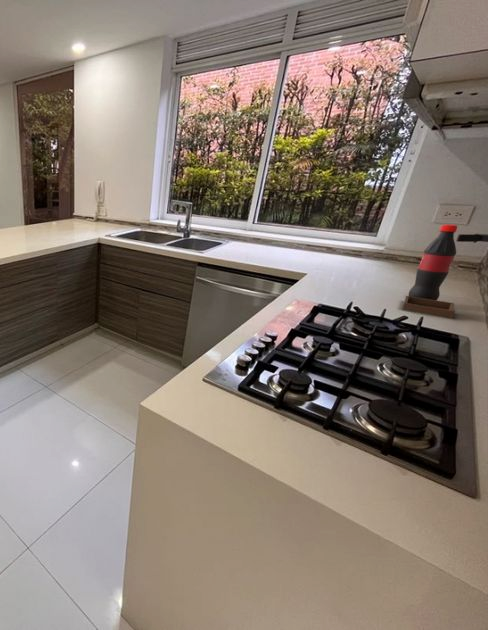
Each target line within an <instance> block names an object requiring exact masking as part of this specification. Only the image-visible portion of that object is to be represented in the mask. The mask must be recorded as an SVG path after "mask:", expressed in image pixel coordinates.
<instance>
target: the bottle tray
mask: <svg viewBox="0 0 488 630" xmlns="http://www.w3.org/2000/svg"><path fill="white" fill-rule="evenodd" d="M401 307H402V308H401V311H407V312H411V313H412V312H413V313H418V314H423V315H430V316H434V317H441V318H446V319H453V318H454V315H455V312H456V309H455V302H449V301H445V300H444V301H443V300H438V299H437V300H430V299H424V298H417V297H411V296H408V295H406V296H405V299H404V301H403V304H402V306H401Z"/></svg>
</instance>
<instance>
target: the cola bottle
mask: <svg viewBox="0 0 488 630" xmlns="http://www.w3.org/2000/svg"><path fill="white" fill-rule="evenodd" d="M457 230H458V225H457V224H456V225H455V224H443V225H441V227H440V229H439V234H438V236H437V237H436V238H434V240H432V241H431V242H430V243H429V244H428V246H426V248H425V249H424V250H423V254H422V257H421V260H420V262H419V265H418V268H417V269H416V275H415V282H414V284H413V286H412V287H411V288H410V289H409V290H408V295H407V296H411V297H417V298H424V299H430V300H437V301H438V299H439V297H440V295H441V291H440V289H441V286H442V284H443V283H444V281H445V279H446V278H447V276H448V275H449V271H450V268H451V266H452V263H453V261H454V259H455V256H456V255H457V247H456V241H455V238H454V237H455V233H456V232H457Z"/></svg>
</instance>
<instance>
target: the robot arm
mask: <svg viewBox="0 0 488 630" xmlns="http://www.w3.org/2000/svg"><path fill="white" fill-rule="evenodd" d="M455 242H456V243H457V242H458V243H459V242H460V243H473V244H476V243H478V242H482V243H488V234H487V233H474V234H471V233H469V234H468V233H467V234H466V233H464V234H463V233H462V234H461V233H458V236H457V237H456V240H455Z"/></svg>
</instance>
